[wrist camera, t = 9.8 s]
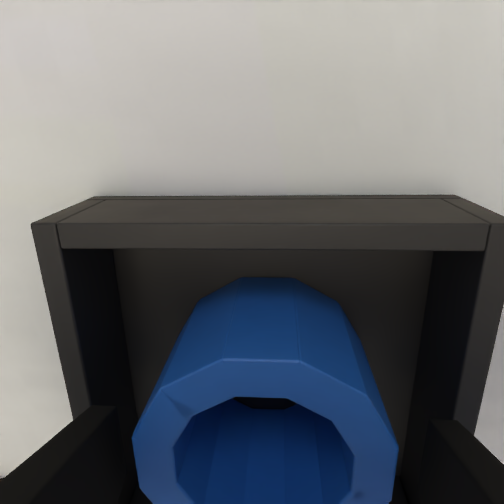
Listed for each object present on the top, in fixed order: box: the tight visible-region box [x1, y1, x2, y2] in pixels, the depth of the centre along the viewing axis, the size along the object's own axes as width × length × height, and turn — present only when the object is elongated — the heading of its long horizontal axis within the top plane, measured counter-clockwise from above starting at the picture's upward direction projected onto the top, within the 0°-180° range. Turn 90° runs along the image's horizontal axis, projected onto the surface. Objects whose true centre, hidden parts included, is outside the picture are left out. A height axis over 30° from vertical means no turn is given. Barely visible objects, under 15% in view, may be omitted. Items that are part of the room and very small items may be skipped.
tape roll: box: [132, 277, 399, 504], centre depth 10 cm, size 6×6×4 cm
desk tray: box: [31, 195, 504, 504], centre depth 11 cm, size 10×10×3 cm
